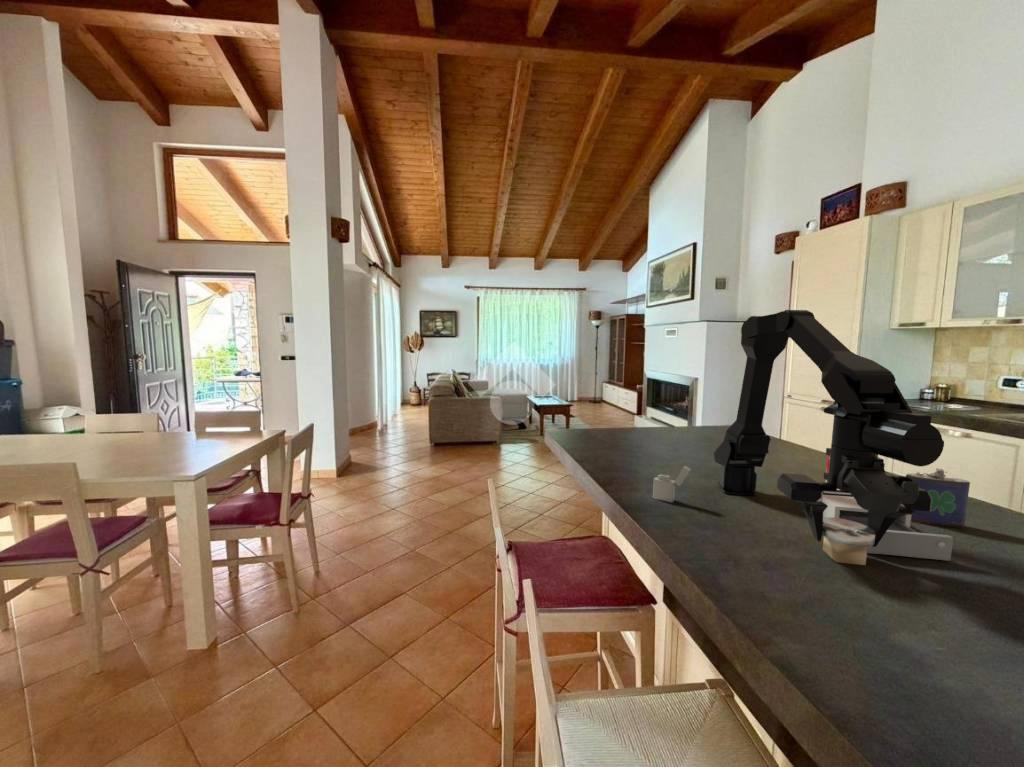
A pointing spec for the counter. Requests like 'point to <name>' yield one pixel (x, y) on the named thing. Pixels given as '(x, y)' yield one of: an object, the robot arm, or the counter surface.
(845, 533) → the disc
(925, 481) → the flask
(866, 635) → the counter surface
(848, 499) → the panel
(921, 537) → the tray
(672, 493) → the lighter
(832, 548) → the block
